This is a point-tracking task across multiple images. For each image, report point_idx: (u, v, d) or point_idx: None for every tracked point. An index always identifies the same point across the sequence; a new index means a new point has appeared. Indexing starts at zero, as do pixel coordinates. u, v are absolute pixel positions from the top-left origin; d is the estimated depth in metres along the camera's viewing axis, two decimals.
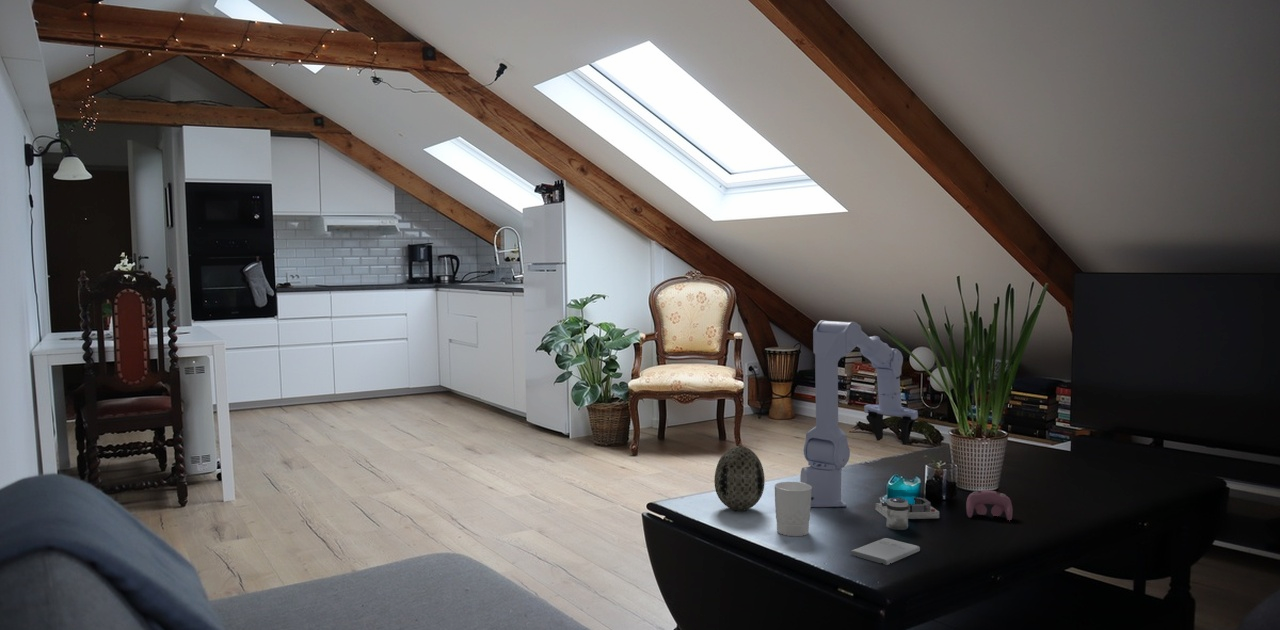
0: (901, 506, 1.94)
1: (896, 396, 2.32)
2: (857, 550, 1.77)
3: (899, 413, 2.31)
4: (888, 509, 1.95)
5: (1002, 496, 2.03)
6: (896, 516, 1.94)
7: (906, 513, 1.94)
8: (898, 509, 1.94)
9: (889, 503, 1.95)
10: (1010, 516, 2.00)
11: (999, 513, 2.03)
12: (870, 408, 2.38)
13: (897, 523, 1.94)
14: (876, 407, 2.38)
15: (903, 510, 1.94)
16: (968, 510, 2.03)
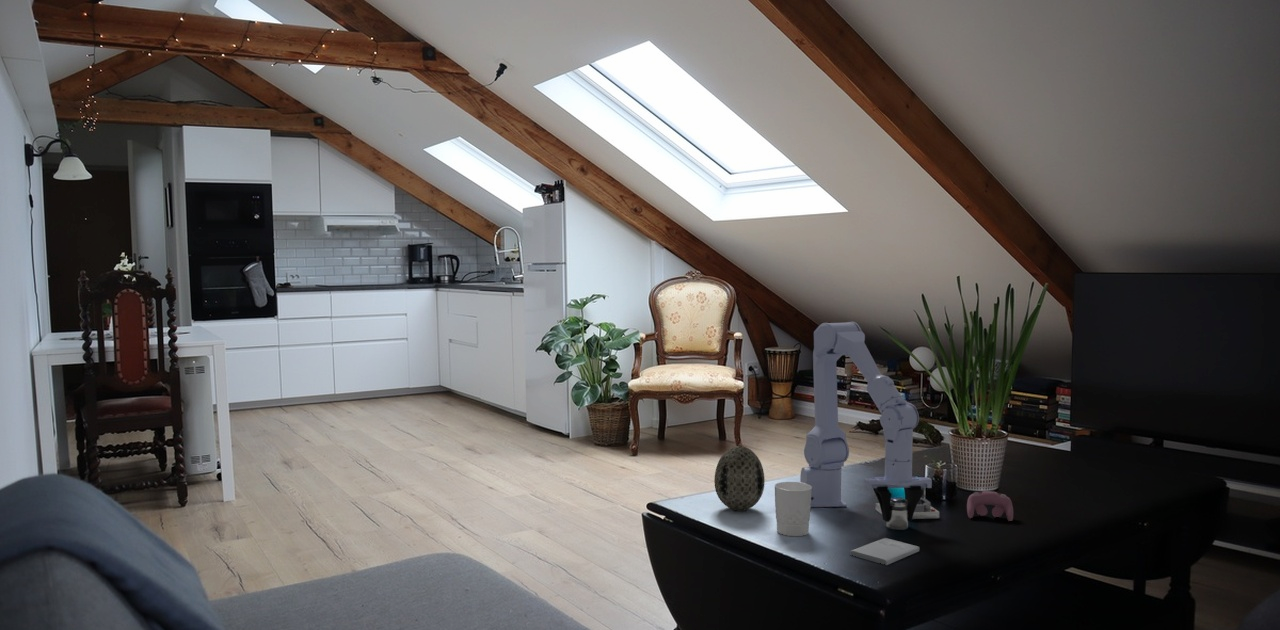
0: (901, 506, 1.94)
1: (885, 460, 1.96)
2: (857, 550, 1.77)
3: None
4: None
5: (1003, 497, 2.03)
6: (896, 516, 1.94)
7: (906, 513, 1.94)
8: (898, 509, 1.94)
9: None
10: (1011, 517, 1.99)
11: (1000, 514, 2.03)
12: None
13: (897, 523, 1.94)
14: None
15: (903, 510, 1.94)
16: (969, 511, 2.02)
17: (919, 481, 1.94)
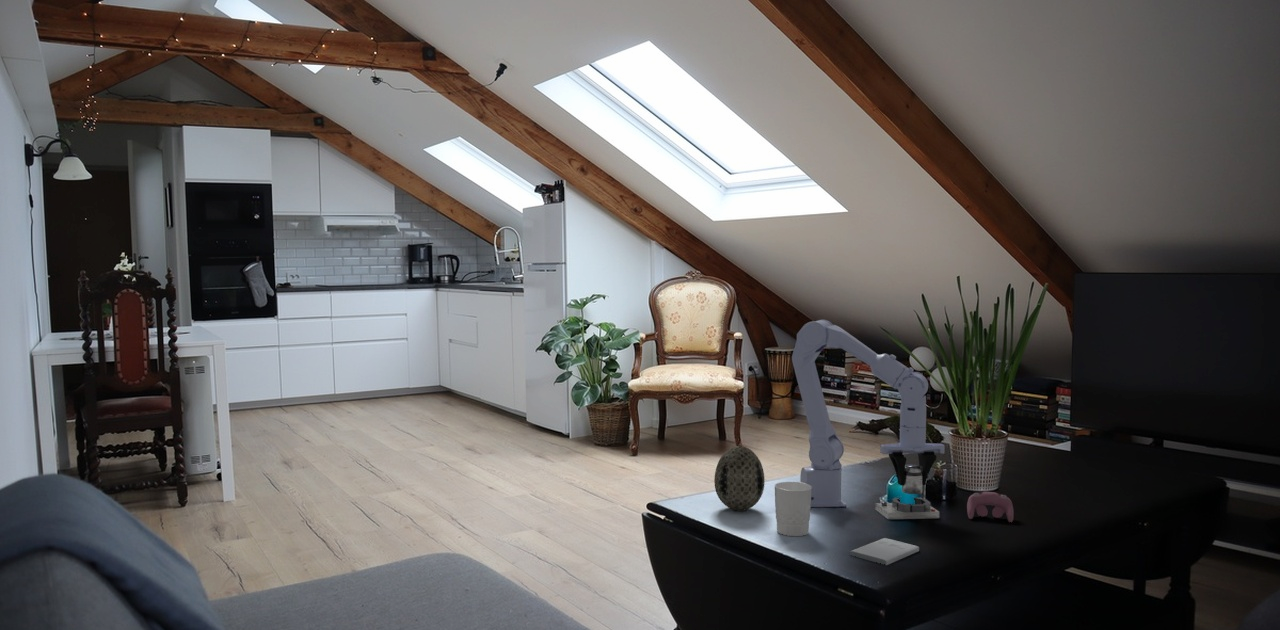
0: (915, 472, 2.03)
1: (900, 427, 2.06)
2: (856, 550, 1.77)
3: None
4: None
5: (1003, 497, 2.02)
6: (910, 481, 2.03)
7: (920, 478, 2.04)
8: (912, 474, 2.03)
9: None
10: (1011, 518, 1.99)
11: (1000, 514, 2.02)
12: None
13: (911, 488, 2.03)
14: None
15: (917, 475, 2.03)
16: (969, 512, 2.02)
17: (932, 447, 2.04)
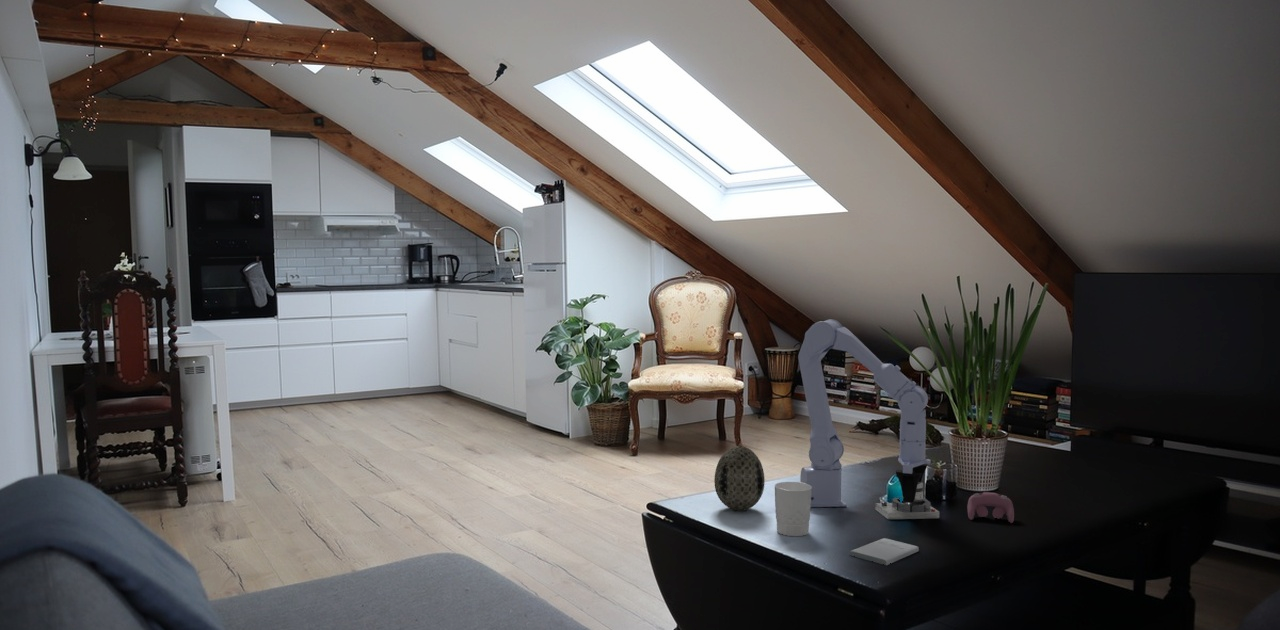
0: (922, 486, 2.04)
1: (905, 443, 2.03)
2: (856, 550, 1.76)
3: (901, 462, 2.03)
4: None
5: (1003, 498, 2.02)
6: (920, 497, 2.04)
7: None
8: (921, 490, 2.04)
9: None
10: (1012, 518, 1.98)
11: (1000, 515, 2.02)
12: None
13: (921, 503, 2.04)
14: None
15: None
16: (969, 512, 2.01)
17: None
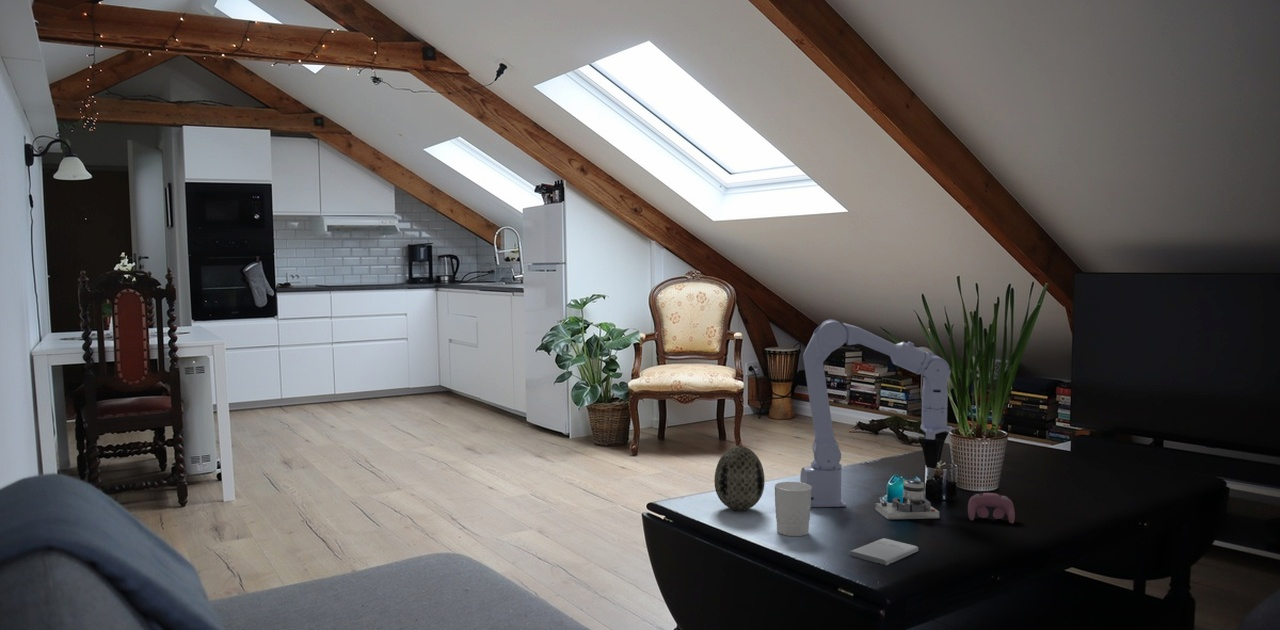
0: (923, 486, 2.05)
1: (928, 411, 2.08)
2: (856, 550, 1.76)
3: (923, 429, 2.08)
4: (913, 492, 2.04)
5: (1004, 499, 2.01)
6: (921, 496, 2.04)
7: None
8: (922, 489, 2.04)
9: (915, 486, 2.03)
10: (1012, 519, 1.98)
11: (1001, 516, 2.01)
12: None
13: (921, 503, 2.04)
14: None
15: (923, 489, 2.05)
16: (970, 513, 2.01)
17: None
